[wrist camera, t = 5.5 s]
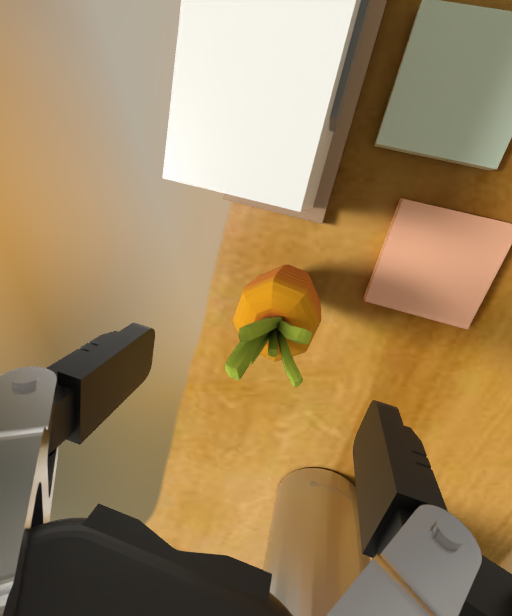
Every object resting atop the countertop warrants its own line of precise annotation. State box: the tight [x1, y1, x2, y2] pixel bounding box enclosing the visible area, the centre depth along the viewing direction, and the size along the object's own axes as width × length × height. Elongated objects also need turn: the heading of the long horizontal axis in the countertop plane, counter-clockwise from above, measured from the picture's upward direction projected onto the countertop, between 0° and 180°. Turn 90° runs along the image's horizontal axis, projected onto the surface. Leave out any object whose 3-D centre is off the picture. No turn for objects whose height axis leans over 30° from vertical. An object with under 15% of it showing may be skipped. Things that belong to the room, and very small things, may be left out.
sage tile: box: [374, 0, 512, 171], centre depth 20 cm, size 8×8×1 cm
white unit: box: [163, 0, 387, 224], centre depth 16 cm, size 16×8×13 cm, turn 167°
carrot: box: [225, 265, 321, 387], centre depth 20 cm, size 5×5×15 cm
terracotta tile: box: [363, 199, 512, 330], centre depth 24 cm, size 8×8×1 cm
